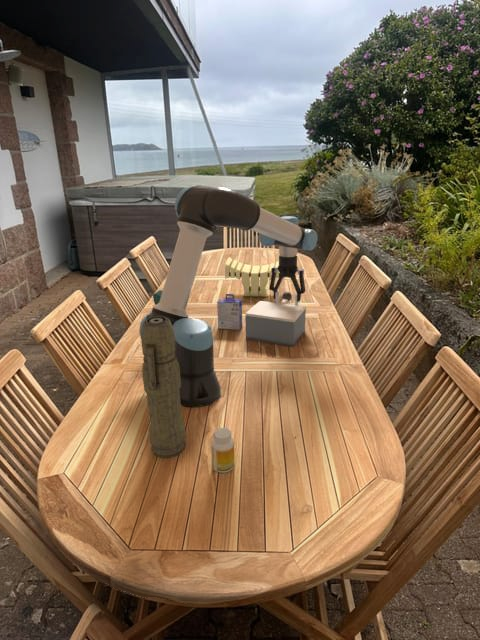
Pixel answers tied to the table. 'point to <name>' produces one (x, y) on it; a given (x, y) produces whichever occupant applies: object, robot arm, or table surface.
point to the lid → (277, 310)
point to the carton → (275, 330)
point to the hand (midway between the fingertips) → (286, 307)
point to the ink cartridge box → (229, 313)
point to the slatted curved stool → (254, 275)
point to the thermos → (162, 387)
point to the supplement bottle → (222, 450)
